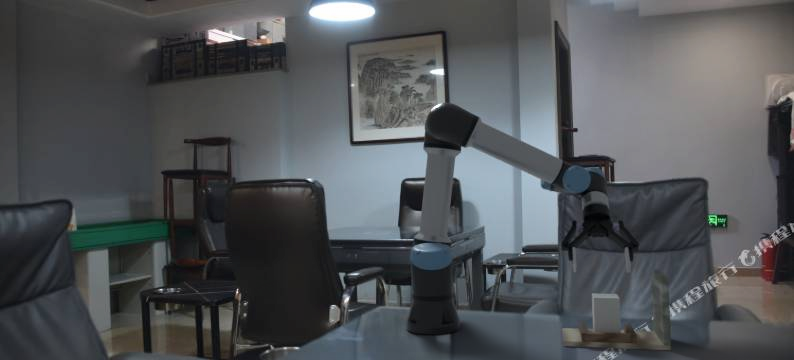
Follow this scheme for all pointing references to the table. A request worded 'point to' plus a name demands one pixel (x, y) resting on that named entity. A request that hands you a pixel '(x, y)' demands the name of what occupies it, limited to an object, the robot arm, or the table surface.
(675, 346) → the table surface
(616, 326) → the grey upright block
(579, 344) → the display stand
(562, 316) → the table surface
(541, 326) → the table surface
